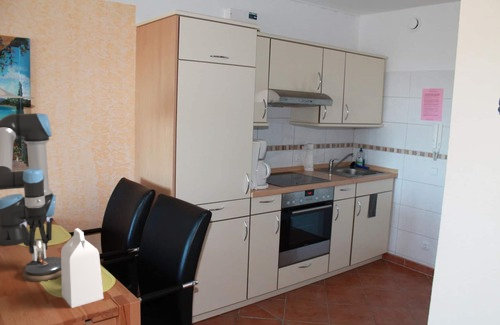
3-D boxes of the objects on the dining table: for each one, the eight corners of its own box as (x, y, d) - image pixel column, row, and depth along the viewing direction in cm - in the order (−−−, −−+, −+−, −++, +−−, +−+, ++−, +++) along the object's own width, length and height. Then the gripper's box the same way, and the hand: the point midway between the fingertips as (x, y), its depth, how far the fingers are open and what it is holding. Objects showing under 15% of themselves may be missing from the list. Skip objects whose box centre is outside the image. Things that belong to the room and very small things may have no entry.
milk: (103, 298, 159) (100, 231, 155) (71, 308, 152) (67, 238, 148) (92, 287, 168) (89, 223, 164) (61, 295, 161) (57, 229, 157)
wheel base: (55, 262, 192) (55, 257, 192) (75, 272, 182) (75, 268, 181) (16, 274, 179) (15, 269, 179) (34, 286, 169) (34, 281, 168)
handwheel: (71, 267, 181) (70, 242, 179) (35, 279, 170) (33, 252, 168) (54, 258, 190) (52, 234, 189) (19, 268, 179) (17, 243, 177)
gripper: (18, 211, 171) (23, 266, 174) (58, 203, 183) (62, 255, 187) (10, 208, 175) (15, 262, 179) (50, 200, 188) (53, 251, 192)
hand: (39, 258), depth 183 cm, fingers closed on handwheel, 3 cm apart
